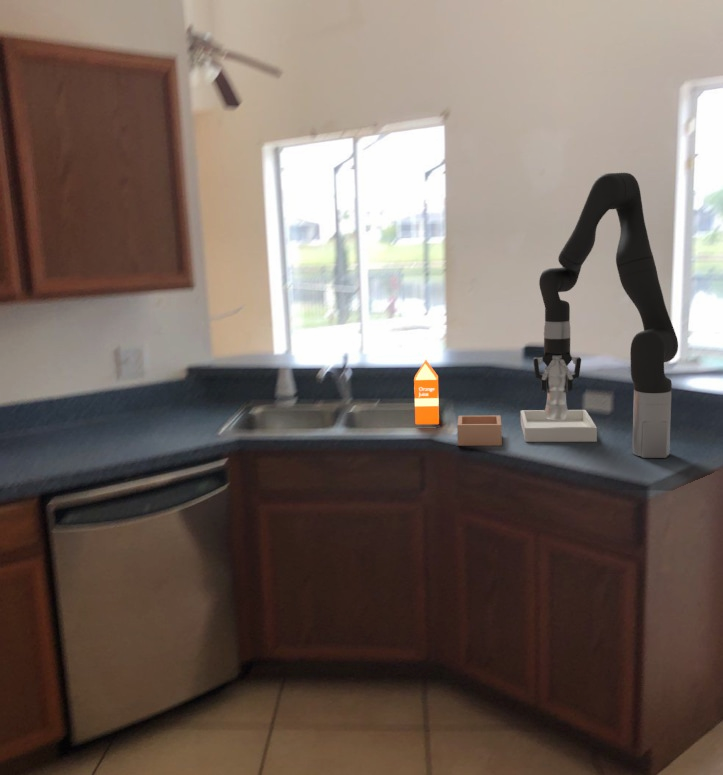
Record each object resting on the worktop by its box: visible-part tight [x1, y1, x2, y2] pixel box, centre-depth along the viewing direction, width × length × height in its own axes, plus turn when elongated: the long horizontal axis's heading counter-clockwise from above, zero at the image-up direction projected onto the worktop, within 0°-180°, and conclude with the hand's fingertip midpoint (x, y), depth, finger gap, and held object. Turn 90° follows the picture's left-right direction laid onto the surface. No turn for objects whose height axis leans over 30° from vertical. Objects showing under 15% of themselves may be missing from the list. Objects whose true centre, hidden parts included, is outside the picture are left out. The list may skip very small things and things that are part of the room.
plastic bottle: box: [544, 355, 569, 420], centre depth 230 cm, size 6×7×20 cm
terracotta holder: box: [456, 414, 503, 446], centre depth 225 cm, size 12×12×6 cm
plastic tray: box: [520, 409, 598, 443], centre depth 232 cm, size 24×20×4 cm
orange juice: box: [413, 359, 440, 425], centre depth 251 cm, size 8×9×20 cm
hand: (556, 391), depth 230 cm, fingers closed on plastic bottle, 6 cm apart
